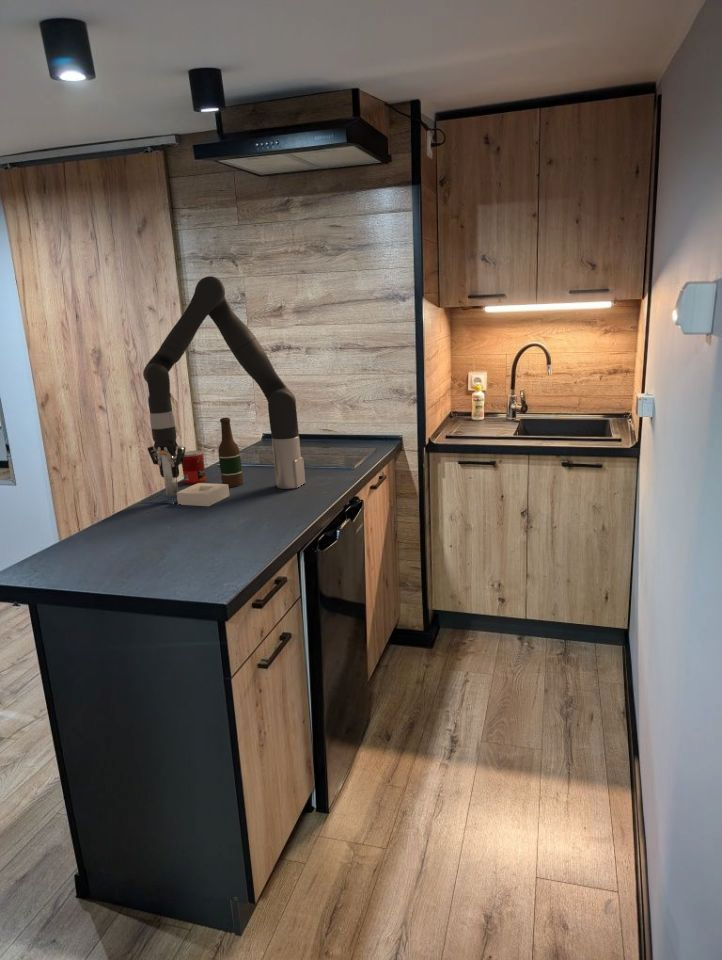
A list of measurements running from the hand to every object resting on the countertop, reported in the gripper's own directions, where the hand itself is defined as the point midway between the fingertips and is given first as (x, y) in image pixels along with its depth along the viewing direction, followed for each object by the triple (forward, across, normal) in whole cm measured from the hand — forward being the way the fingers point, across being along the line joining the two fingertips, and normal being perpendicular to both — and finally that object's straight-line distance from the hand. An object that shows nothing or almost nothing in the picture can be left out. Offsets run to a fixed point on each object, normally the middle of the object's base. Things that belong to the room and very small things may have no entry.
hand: (170, 476), depth 222 cm
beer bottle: (+9, -9, -22) cm, 25 cm away
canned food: (+9, +8, -24) cm, 27 cm away
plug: (+6, 0, 0) cm, 6 cm away
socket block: (+8, -10, -3) cm, 13 cm away
